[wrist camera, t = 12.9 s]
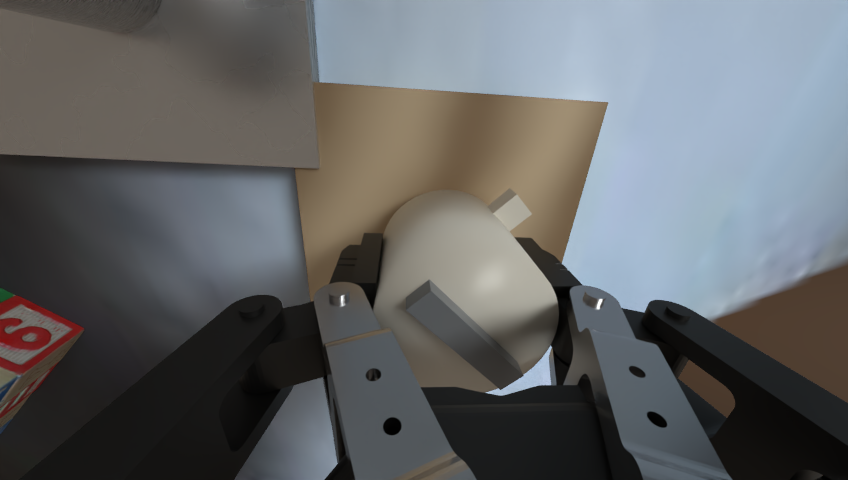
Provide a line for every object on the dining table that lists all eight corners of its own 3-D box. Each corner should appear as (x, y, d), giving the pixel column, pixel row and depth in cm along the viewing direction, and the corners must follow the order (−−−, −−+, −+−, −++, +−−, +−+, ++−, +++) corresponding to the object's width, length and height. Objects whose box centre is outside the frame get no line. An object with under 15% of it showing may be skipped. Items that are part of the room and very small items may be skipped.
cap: (545, 236, 13) (636, 324, 8) (420, 328, 15) (430, 449, 10) (472, 142, 11) (531, 181, 6) (339, 260, 13) (299, 366, 8)
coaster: (596, 102, 12) (608, 102, 12) (533, 330, 17) (538, 341, 17) (291, 81, 11) (284, 80, 11) (319, 330, 16) (315, 341, 16)
